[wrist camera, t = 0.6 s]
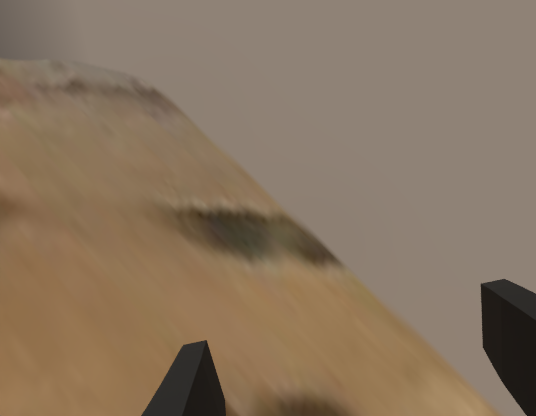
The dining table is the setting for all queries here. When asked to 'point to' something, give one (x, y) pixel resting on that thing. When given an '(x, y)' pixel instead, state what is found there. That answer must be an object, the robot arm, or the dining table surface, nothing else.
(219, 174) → the dining table surface
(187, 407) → the robot arm
